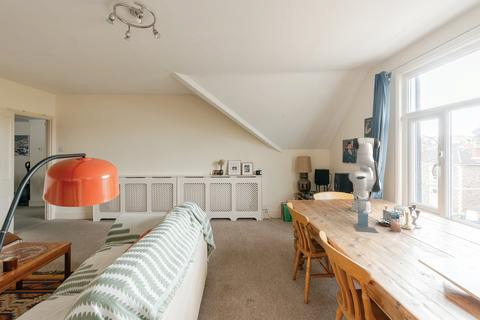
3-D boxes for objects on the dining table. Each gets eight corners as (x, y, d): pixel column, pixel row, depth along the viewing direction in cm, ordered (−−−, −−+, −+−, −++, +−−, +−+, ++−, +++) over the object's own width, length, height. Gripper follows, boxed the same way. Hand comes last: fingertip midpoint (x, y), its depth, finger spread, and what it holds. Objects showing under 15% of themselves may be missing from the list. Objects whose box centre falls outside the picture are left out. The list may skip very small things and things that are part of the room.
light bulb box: (400, 226, 166) (400, 212, 165) (391, 226, 166) (391, 212, 166) (390, 221, 177) (390, 208, 176) (382, 221, 177) (382, 208, 176)
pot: (389, 228, 161) (389, 221, 160) (398, 229, 159) (398, 221, 158) (392, 231, 155) (392, 223, 155) (402, 232, 153) (402, 224, 153)
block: (357, 224, 172) (357, 211, 172) (366, 224, 170) (366, 212, 170) (359, 226, 167) (359, 213, 167) (367, 226, 165) (368, 214, 165)
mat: (353, 225, 167) (353, 225, 167) (374, 227, 163) (374, 227, 163) (356, 231, 157) (356, 230, 157) (378, 233, 153) (378, 232, 153)
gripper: (353, 193, 187) (353, 209, 187) (359, 198, 167) (358, 216, 168) (362, 194, 185) (361, 210, 185) (368, 199, 165) (368, 216, 166)
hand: (360, 213), depth 176 cm, fingers open, 8 cm apart
